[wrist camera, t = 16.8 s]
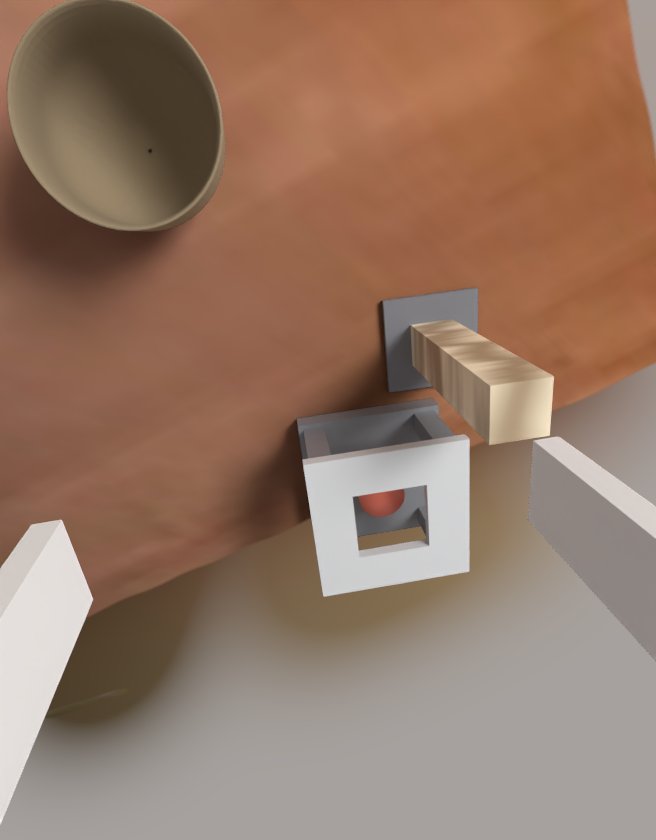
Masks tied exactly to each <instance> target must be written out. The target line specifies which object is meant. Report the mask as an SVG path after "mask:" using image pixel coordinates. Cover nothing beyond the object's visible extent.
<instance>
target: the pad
mask: <svg viewBox="0 0 656 840" xmlns="http://www.w3.org/2000/svg"><path fill="white" fill-rule="evenodd" d="M382 310H383V324H384V338H385V352H386V367H387V381H388V391H389V393H391V392H398V391H404V390H411V389H418V388H425V387H431V386H432V385H431V384H430V383H429V382H428V381H427V380H426V379H425V378H424V377H423V376H422V375H421V374H420V373H419V372H418V371H417V370H416V369H415V368H414V367H413V366H412V346H411V325H414V324H421V323H428V322H435V321H442V320H449V319H452V320H454V321H456V322H458V323H460V324H461V325H463V326H465V327H467V328H468V329H470V330H472V331H474V332H476V333H477V334H478V288H476V287H475V288H468V289H461V290H453V291H446V292H439V293H432V294H424V295H417V296H410V297H403V298H395V299H388V300H382Z"/></svg>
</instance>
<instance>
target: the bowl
mask: <svg viewBox="0 0 656 840" xmlns="http://www.w3.org/2000/svg"><path fill="white" fill-rule="evenodd" d="M7 108H8V116H9V121H10V126H11V129H12V133H13V136H14V139H15V142H16V144H17V147H18V149H19V151H20V154H21V156H22V158H23V160H24V161H25V163H26V165H27V167H28V168H29V170H30V171H31V173H32V174H33V176H34V177H35V178H36V180H37V181H38V182H39V183H40V185H41V186H42V187H43V188H44V189H45V190H46V191H47V193H48V194H49V195H50V196H51V197H52V198H54V199H55V200H56V201H57V202H58V203H59V204H60V205H62V206H63V207H65V208H66V209H67V210H69V211H70V212H72V213H73V214H75V215H77V216H78V217H80V218H82V219H84V220H86V221H88V222H90V223H93V224H96V225H98V226H101V227H105V228H108V229H114V230H120V231H161V230H166V229H170V228H173V227H176V226H178V225H180V224H182V223H185V222H186V221H188V220H189V219H191V218H192V217H194V216H195V215H196V214H198V213H199V212H200V211H201V210H202V209H203V208H204V206H205V205H206V204H207V203H208V202H209V200H210V199H211V197H212V196H213V194H214V192H215V190H216V188H217V186H218V184H219V181H220V179H221V175H222V172H223V167H224V161H225V134H224V128H223V119H222V112H221V105H220V101H219V97H218V94H217V91H216V88H215V85H214V82H213V80H212V78H211V75H210V73H209V71H208V69H207V67H206V65H205V64H204V62H203V60H202V59H201V57H200V56H199V54H198V52H197V51H196V50H195V48H194V47H193V46H192V45H191V43H190V42H189V41H188V40H187V39H186V38H185V36H184V35H183V34H182V33H181V32H180V31H179V30H178V29H176V28H175V27H174V26H173V25H172V24H171V23H169V22H168V21H167V20H165V19H164V18H163V17H162V16H160V15H158V14H157V13H155V12H153V11H152V10H150V9H148V8H146V7H144V6H142V5H140V4H137V3H135V2H132V1H129V0H68V1H65V2H63V3H61V4H59V5H56V6H54V7H53V8H51V9H50V10H48V11H47V12H45V13H44V14H43V15H41V16H40V17H39V18H38V19H37V20H36V21H35V22H34V23H33V24H32V25H31V26H30V27H29V29H28V30H27V31H26V33H25V34H24V35H23V37H22V39H21V41H20V42H19V44H18V46H17V48H16V51H15V53H14V55H13V58H12V62H11V65H10V69H9V75H8V82H7Z"/></svg>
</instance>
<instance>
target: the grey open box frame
mask: <svg viewBox="0 0 656 840" xmlns="http://www.w3.org/2000/svg"><path fill="white" fill-rule="evenodd" d="M297 425H298V432H299V438H300V445H301V451H302V458H303V460H302V461H303V467H304V474H305V480H306V487H307V493H308V500H309V506H310V513H311V519H312V526H313V532H314V538H315V545H316V552H317V558H318V564H319V571H320V578H321V584H322V590H323V596H330V595H336V594H342V593H348V592H354V591H359V590H365V589H371V588H377V587H382V586H388V585H394V584H399V583H405V582H411V581H417V580H422V579H428V578H434V577H440V576H446V575H451V574H457V573H463V572H469V438H468V437H467V436H466V435H465V434H463V435H457V436H455V435H454V434H453V432H452V431H451V430H450V429H449V428H448V427H447V425H446V424H445V423H444V422H443V421H442V419H441V418H440V417H439V405H438V404H437V403H436V402H435V400H434V399H433V398H429V399H423V400H416V401H409V402H403V403H396V404H389V405H383V406H376V407H370V408H363V409H356V410H350V411H343V412H336V413H330V414H323V415H316V416H310V417H303V418H297ZM398 489H404V492H405V498H404V502H403V504H402V506H401V507H400V508H399V509H398V510H397V511H396V512H395V513H393V514H391V515H388V516H385V517H375V516H371V515H369V514H367V513H366V512H365V511H364V510H363V509H362V507H361V504H360V501H359V498H358V496H361V495H367V494H373V493H380V492H386V491H392V490H398ZM419 526H421V527H422V529H423V531H424V533H425V535H426V539H425V540H419V541H413V542H407V543H401V544H396V545H390V546H384V547H377V548H372V549H366V550H360V551H359V549H358V541H357V537H359V536H365V535H371V534H377V533H383V532H389V531H395V530H400V529H406V528H412V527H419Z"/></svg>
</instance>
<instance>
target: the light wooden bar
mask: <svg viewBox="0 0 656 840" xmlns="http://www.w3.org/2000/svg"><path fill="white" fill-rule="evenodd" d="M411 346H412V366H413V367H414V368H415V369H416V370H417V371H418V372H419V373H420V374H421V375H422V376H423V377H424V378H425V379H426V380H427V381H428V382H429V383H430V384H431V385H432V386H433V387H434V388H435V389H436V390H437V391H438V392H439V393H440V394H441V396H442V397H443V398H444V399H445V400H446V401H447V402H448V403H449V404H450V405H451V406H452V407H453V408H454V409H455V410H456V411H457V412H458V413H459V414H460V415H461V416H462V417H463V418H464V419H465V420H466V421H467V422H468V423H469V424H470V426H471V427H472V428H473V429H474V430H475V431H476V432H477V433H478V434H479V435H480V436H481V437H482V438H483V439H484V440H485V441H486V442H487V443H488V444H489V445H492V444H499V443H505V442H511V441H517V440H524V439H530V438H537V437H543V436H549V435H550V423H551V409H552V396H553V382H554V376H552V375H550V374H549V373H547V372H545V371H543V370H542V369H540V368H538V367H536V366H534V365H533V364H531V363H529V362H527V361H525V360H524V359H522V358H520V357H518V356H517V355H515V354H513V353H511V352H509V351H508V350H506V349H504V348H502V347H501V346H499V345H497V344H495V343H493V342H492V341H490V340H488V339H486V338H484V337H483V336H481V335H479V334H477V333H476V332H474V331H472V330H470V329H468V328H467V327H465V326H463V325H461V324H460V323H458V322H456V321H454V320H452V319H449V320H442V321H435V322H428V323H421V324H414V325H411Z"/></svg>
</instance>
